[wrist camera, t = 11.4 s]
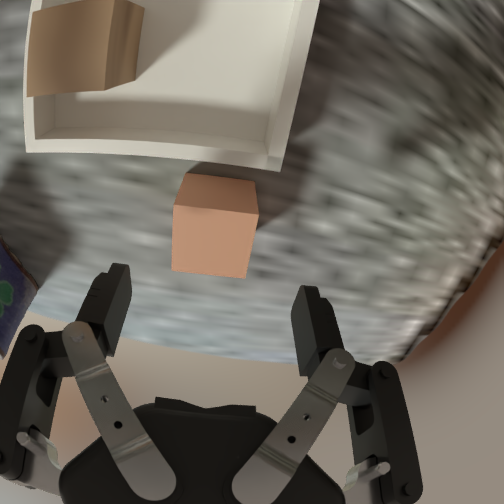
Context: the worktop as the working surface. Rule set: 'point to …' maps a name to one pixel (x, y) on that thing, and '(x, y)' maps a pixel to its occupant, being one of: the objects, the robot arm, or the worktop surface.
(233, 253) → the terracotta block
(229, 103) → the tray
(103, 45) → the walnut block
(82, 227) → the worktop surface
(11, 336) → the flask
